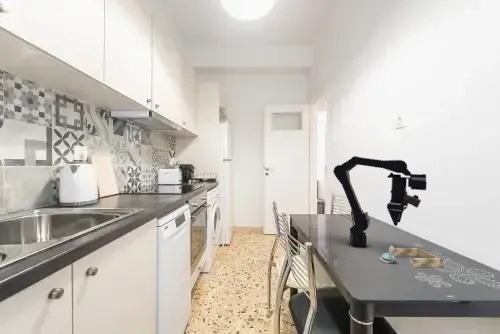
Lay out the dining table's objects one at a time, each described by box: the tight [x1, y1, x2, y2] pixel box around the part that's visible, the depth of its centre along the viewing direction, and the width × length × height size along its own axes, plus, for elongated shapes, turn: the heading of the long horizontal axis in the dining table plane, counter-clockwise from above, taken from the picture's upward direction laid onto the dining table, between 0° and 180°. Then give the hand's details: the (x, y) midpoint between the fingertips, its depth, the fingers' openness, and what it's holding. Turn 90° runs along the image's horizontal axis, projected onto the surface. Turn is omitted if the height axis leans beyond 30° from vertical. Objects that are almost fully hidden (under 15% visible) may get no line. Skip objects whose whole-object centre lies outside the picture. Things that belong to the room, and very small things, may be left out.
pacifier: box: [379, 245, 398, 264], centre depth 111 cm, size 7×6×6 cm
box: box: [392, 247, 444, 268], centre depth 112 cm, size 11×14×3 cm
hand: (397, 223), depth 123 cm, fingers open, 9 cm apart
